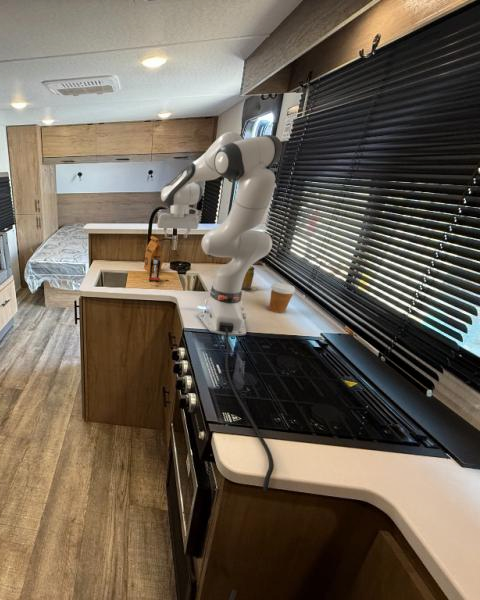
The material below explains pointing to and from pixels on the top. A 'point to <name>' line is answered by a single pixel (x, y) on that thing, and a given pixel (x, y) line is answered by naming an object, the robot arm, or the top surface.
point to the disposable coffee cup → (280, 296)
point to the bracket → (157, 269)
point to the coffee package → (153, 254)
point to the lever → (154, 270)
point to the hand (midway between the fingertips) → (175, 237)
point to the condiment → (248, 280)
